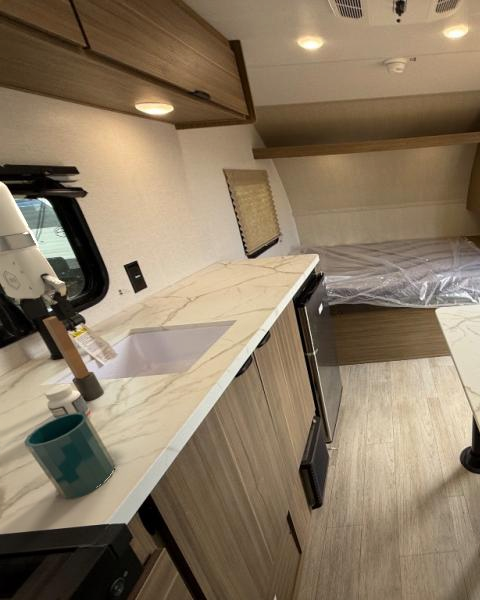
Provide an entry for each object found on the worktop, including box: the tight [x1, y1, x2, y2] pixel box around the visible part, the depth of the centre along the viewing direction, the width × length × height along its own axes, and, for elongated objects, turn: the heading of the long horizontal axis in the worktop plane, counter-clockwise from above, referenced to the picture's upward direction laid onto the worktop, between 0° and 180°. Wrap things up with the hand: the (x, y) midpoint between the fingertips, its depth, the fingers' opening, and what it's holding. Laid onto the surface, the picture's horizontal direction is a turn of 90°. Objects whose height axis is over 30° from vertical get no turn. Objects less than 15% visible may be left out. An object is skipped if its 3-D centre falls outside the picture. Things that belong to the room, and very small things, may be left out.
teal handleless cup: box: [24, 412, 116, 500], centre depth 55 cm, size 7×7×12 cm
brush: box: [42, 315, 105, 402], centre depth 76 cm, size 4×4×22 cm
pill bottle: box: [44, 382, 92, 419], centre depth 71 cm, size 5×5×9 cm
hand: (52, 317), depth 72 cm, fingers open, 9 cm apart
